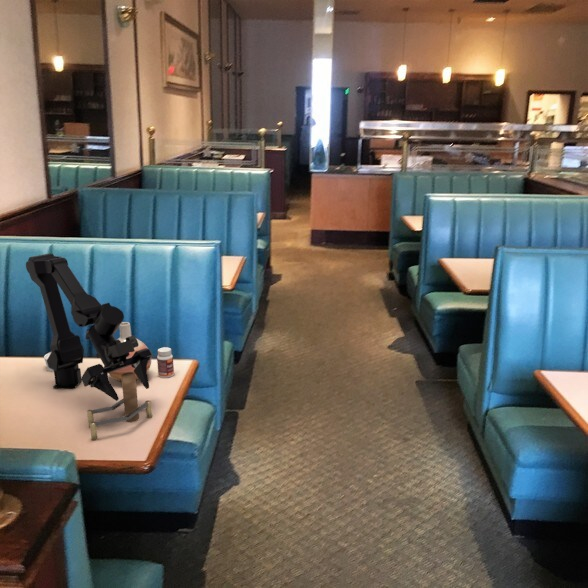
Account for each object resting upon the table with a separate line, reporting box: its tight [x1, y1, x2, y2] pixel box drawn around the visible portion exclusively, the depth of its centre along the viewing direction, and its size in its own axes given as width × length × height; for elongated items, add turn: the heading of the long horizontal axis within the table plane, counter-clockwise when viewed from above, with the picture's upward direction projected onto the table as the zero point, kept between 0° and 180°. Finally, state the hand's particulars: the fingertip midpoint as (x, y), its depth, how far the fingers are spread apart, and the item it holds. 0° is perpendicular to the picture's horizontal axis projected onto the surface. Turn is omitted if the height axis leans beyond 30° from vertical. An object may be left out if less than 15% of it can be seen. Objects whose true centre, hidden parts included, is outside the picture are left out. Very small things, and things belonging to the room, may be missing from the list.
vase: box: [108, 321, 152, 383], centre depth 186 cm, size 14×14×18 cm
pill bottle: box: [156, 346, 175, 379], centre depth 190 cm, size 5×5×8 cm
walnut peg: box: [121, 372, 140, 423], centre depth 162 cm, size 4×4×12 cm
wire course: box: [86, 398, 153, 441], centre depth 160 cm, size 15×16×4 cm
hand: (133, 394), depth 161 cm, fingers open, 9 cm apart
